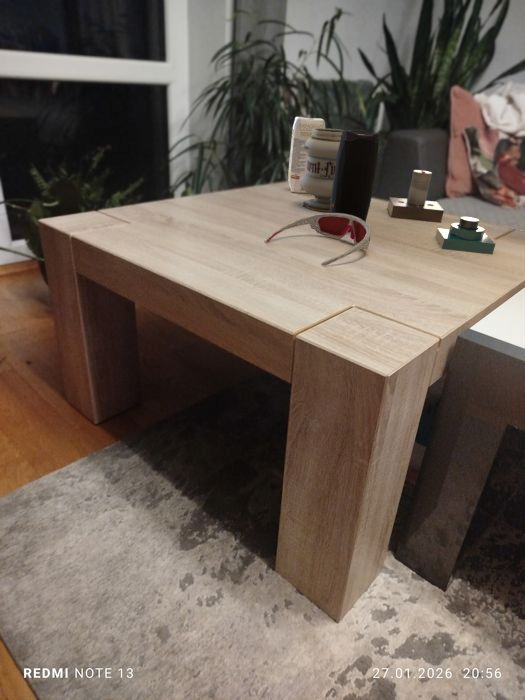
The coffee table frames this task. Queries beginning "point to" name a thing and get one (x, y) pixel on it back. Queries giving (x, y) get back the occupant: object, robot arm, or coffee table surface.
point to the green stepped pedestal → (464, 239)
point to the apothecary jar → (320, 167)
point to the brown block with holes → (415, 210)
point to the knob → (419, 187)
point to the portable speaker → (355, 173)
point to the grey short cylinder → (468, 223)
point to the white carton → (300, 150)
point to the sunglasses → (335, 230)
